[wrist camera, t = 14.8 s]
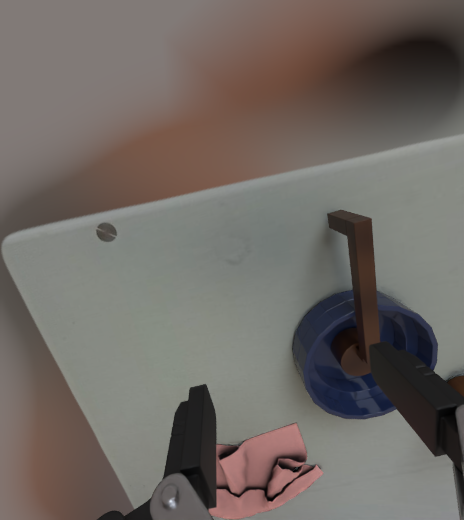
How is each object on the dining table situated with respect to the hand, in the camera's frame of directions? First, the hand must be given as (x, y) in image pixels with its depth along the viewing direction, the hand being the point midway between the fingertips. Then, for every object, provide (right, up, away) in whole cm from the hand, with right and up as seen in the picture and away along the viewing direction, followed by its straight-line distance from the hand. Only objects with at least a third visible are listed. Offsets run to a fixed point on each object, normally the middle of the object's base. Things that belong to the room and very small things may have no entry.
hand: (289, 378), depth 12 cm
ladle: (+11, +2, +18) cm, 21 cm away
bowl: (+13, -5, +21) cm, 26 cm away
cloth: (+2, -28, +28) cm, 40 cm away
